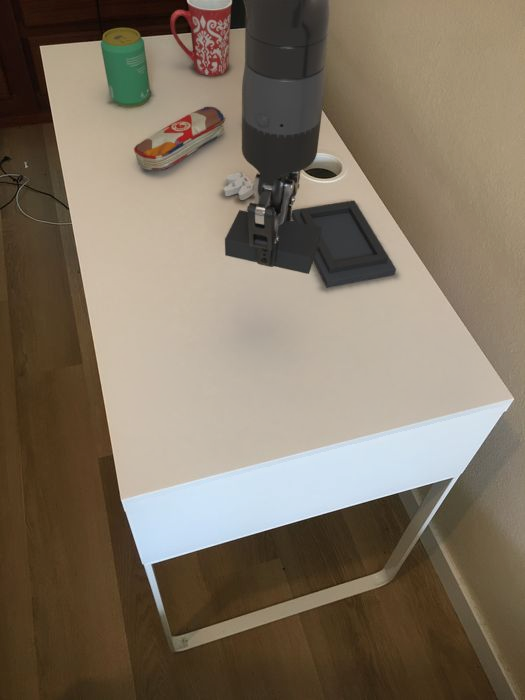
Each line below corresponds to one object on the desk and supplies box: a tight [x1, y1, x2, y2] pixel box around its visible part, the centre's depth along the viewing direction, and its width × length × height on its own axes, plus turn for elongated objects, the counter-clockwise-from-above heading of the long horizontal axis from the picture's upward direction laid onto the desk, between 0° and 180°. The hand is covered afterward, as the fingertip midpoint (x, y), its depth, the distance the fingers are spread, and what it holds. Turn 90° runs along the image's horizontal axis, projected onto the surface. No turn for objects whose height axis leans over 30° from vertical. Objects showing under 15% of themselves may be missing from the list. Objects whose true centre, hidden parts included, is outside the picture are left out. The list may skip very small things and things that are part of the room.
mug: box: [169, 0, 233, 77], centre depth 119 cm, size 13×9×14 cm
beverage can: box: [100, 27, 151, 108], centre depth 111 cm, size 8×8×12 cm
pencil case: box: [133, 106, 226, 171], centre depth 103 cm, size 11×20×5 cm, turn 129°
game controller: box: [223, 172, 255, 201], centre depth 99 cm, size 6×12×3 cm, turn 136°
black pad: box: [224, 209, 321, 275], centre depth 66 cm, size 10×6×2 cm, turn 74°
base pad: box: [291, 200, 397, 288], centre depth 90 cm, size 17×11×2 cm, turn 16°
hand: (273, 246), depth 67 cm, fingers closed on black pad, 5 cm apart
